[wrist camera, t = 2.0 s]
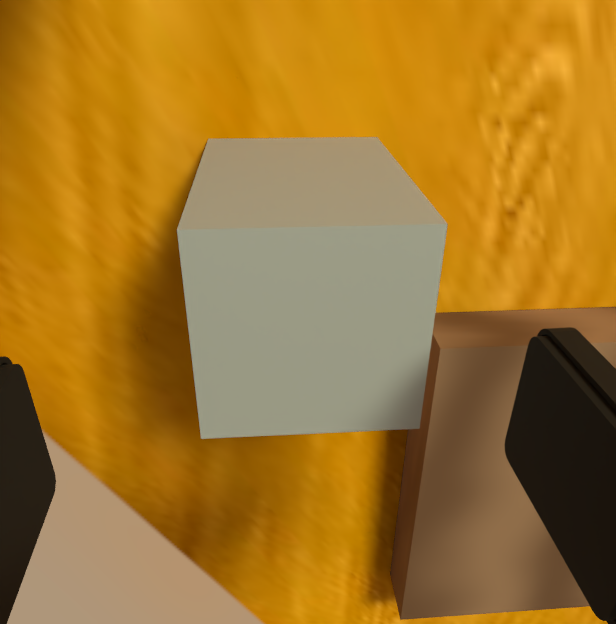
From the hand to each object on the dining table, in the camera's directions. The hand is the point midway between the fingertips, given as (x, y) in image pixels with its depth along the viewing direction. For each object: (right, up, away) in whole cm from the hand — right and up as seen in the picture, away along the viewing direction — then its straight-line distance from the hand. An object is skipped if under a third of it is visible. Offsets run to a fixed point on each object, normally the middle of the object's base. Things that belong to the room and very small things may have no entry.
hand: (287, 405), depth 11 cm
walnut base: (+13, -5, +16) cm, 21 cm away
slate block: (0, +5, +9) cm, 10 cm away
